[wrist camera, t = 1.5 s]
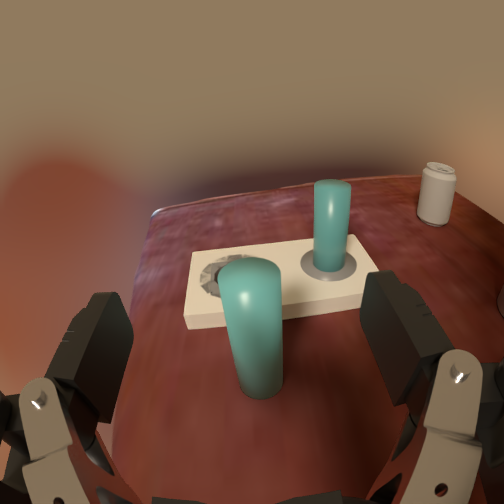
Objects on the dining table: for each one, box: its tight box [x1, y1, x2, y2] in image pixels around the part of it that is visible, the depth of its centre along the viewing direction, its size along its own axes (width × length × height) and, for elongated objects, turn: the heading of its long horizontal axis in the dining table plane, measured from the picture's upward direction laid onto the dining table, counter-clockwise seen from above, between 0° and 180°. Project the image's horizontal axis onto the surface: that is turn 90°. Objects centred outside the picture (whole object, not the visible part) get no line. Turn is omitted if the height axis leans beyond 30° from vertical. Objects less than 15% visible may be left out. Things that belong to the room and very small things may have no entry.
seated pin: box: [313, 179, 351, 272], centre depth 38 cm, size 4×4×14 cm
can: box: [417, 162, 457, 226], centre depth 51 cm, size 8×8×12 cm
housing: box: [184, 234, 379, 329], centre depth 41 cm, size 14×26×3 cm, turn 95°
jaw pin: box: [218, 257, 283, 399], centre depth 25 cm, size 4×4×14 cm
